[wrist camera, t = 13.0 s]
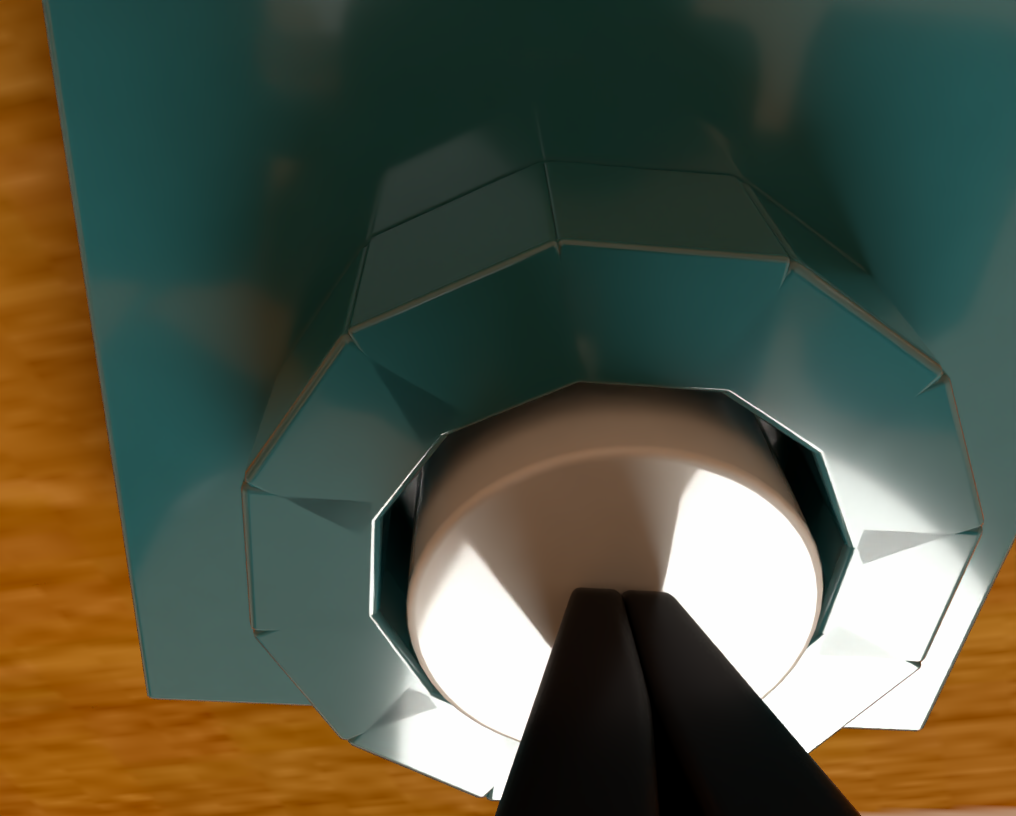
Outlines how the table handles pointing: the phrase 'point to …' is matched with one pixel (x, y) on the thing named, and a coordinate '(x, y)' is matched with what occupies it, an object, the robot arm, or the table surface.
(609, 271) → the teal push button box
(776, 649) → the flush button
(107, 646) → the table surface
